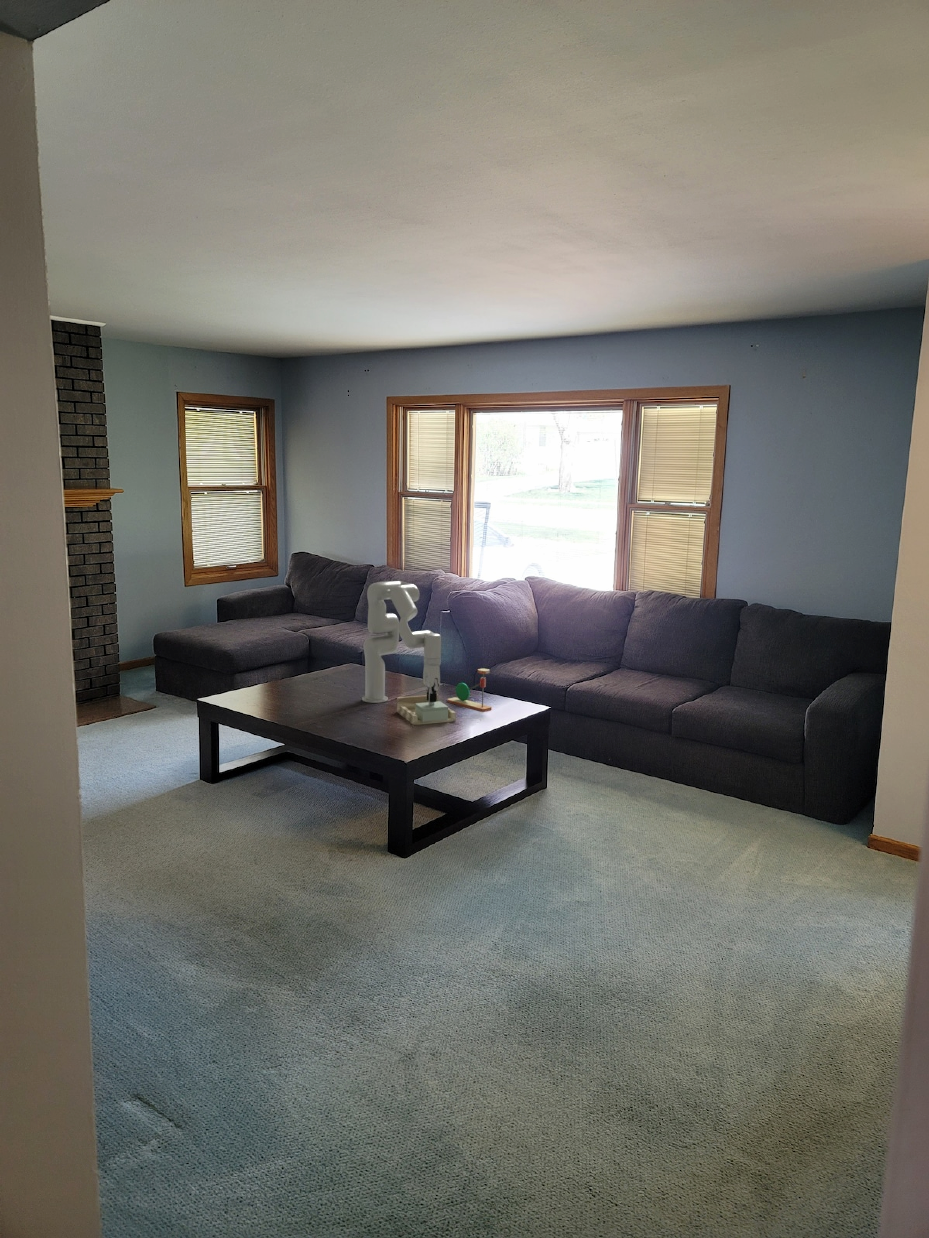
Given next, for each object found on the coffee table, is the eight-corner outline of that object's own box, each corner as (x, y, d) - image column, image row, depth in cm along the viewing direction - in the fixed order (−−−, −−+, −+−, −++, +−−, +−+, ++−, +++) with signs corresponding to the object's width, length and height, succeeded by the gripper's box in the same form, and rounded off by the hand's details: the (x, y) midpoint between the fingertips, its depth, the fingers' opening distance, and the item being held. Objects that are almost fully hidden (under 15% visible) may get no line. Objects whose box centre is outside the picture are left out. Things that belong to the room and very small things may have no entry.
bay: (397, 712, 410) (397, 697, 409) (437, 708, 418) (437, 694, 417) (413, 725, 389) (414, 709, 388) (455, 721, 397) (455, 706, 396)
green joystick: (414, 716, 399) (415, 680, 397) (439, 713, 404) (440, 678, 401) (422, 722, 390) (423, 685, 387) (448, 719, 395) (448, 683, 392)
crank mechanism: (492, 709, 419) (493, 670, 416) (483, 712, 414) (484, 672, 411) (455, 699, 436) (456, 661, 433) (445, 701, 431) (446, 663, 428)
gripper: (418, 657, 399) (417, 697, 402) (430, 665, 384) (430, 706, 387) (433, 657, 402) (432, 696, 405) (446, 664, 387) (446, 704, 390)
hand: (431, 700), depth 396 cm, fingers closed on green joystick, 2 cm apart
